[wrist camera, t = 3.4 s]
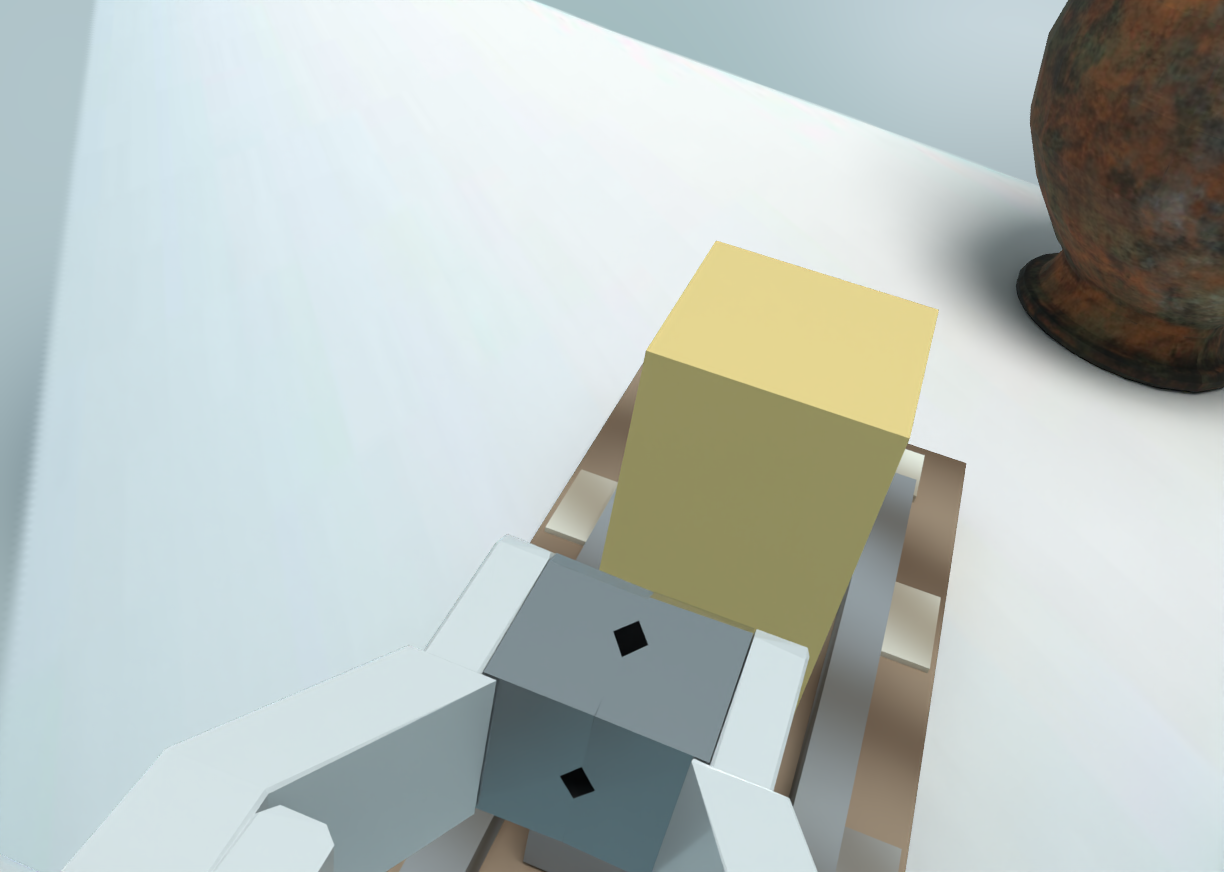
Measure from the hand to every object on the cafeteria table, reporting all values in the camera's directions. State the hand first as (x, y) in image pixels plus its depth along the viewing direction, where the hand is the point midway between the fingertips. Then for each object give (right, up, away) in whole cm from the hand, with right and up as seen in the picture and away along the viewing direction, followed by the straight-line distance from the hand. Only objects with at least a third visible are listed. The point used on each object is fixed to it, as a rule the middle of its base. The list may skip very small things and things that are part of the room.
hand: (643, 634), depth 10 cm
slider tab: (+1, -7, +15) cm, 17 cm away
